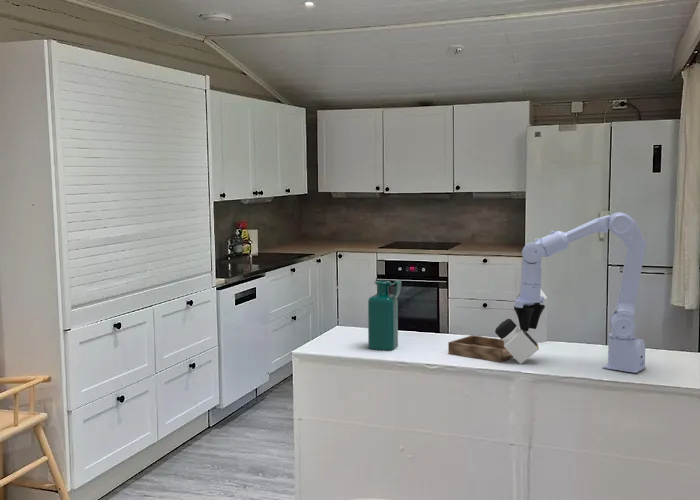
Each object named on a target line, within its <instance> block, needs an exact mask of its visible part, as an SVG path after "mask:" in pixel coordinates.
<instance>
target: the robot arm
mask: <svg viewBox="0 0 700 500" xmlns="http://www.w3.org/2000/svg"><path fill="white" fill-rule="evenodd" d="M609 231H610V232H611V233H612V234H613V235H615V236H616V237H617V238H619V239H620V240H621V241H622V243H623V244H624V245H625V246H626V253H625V257H624V264H623V268H622V269H623V270H622V275H621V281H620V285H619V291H618V296H617V302H616V305H615V309H614V311H613V313H612V315H611V316H610V318H609V326H610V328H611V332H610V333H608V340H607V341H608V346H607V347H608V352H607V353H608V356H607V364H604V365H602V368H603V369H607V370H614V371H620V372H627V373H634V374H637V373H639V372H641V371H643V370H644V369H646V368H647V367H646V343H645V341H644V339H640V338H638V337H637V336H636V334H635V332H636V330H637V329H636V328H637V327H636V322H635V310H636V309H635V307H636V301H637V297H638V296H637V295H638V290H639V284H640V279H641V273H642V269H643V268H642V267H643V263H644V257H645V253H646V246H647V244H646V243H647V242H646V239H645V238H644V235H643V234H642V232H641V230H640V228H639V225H638V223H637V221H635V220H634V218H632V217H631V216H630V215H629V214H627V213H624V212H621V211H620V212H618V211H617V212H613V213H612V214H611V215H609V214H607V215H604V216H601V217H597V218H594V219H593V220H590V221H588V222H585V223H584V224H581V225H579V226H577V227H575V228H573V229H571V230H569V231H566V232H564V231H561V230H557V231H555V230H552V231H550V232H549V233H550V234H547V235H545V236H544V237H541V238H538V237H537V238H535V239H534V242H528V243H527V244H525V245H524V246H523V248H522V251H521V255H522V258H523V259H522V261H521V266H522V267H521V275H520V291H519V292H520V293H519V294H520V297H517V296H516V297H517V300H514V301H515V303H514V306H513V310H514V311H515V315H516V314H517V316H518V320H519V324H520V329H521V330H523V331H528V330H529V328H532V329H536V328H537V324H538V321H539V318H540V315H541V313H542V311H543V310H544V308H545V305H541V304H540V303H544V297H543V296H540V293H541V290H542V288H541V287H542V273H543V272H542V271H543V269H542V259H543V258H549V257H551V256H553V255H555V254H558V253H560V252H563V251H565V250H567V249H568V248H569V246H570V243H572V242H575V241H577V240H580V239H582V238H585V237H588V236H590V235H592V234H595V233H602V234H604V233H605V234H608V233H609Z"/></svg>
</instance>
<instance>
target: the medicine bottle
mask: <svg viewBox="0 0 700 500" xmlns="http://www.w3.org/2000/svg"><path fill="white" fill-rule="evenodd" d="M494 333H495V335H497V336H498V337H499V339H502V341H504V347H505V348H506V350H507V351H508V352H509V353H510V354H511V355H512V356H513V358H514V359H515V361H516V362H517V363H518V364H519V365H522V364H523V363H524V362H526V361H527V359H529V358H530V357H531V356H533V355H534V354H535V353H537V352H538V351H539V350H540V349H539V345H538V343H536V342H535V341H534V340H533V338H532V337H531V336H530V335H529V334H528V333H527V332H526V331H523V330H521V329H520V328H519V329H518V326H517V325H516V322H514V321H513V320H512V319H511V318H506V319H504V320H503V321H501V322H500V323H499V324H498V325H497V327H496V328H495V330H494Z"/></svg>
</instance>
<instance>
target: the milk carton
mask: <svg viewBox="0 0 700 500" xmlns="http://www.w3.org/2000/svg"><path fill="white" fill-rule="evenodd" d="M540 296H543V297H544V303H540V304H541V305H545V308H544V310H543V311H542V313H541V315H540V318H539V321H538V324H537V328H536V329H532V328H529V330H528V331H526V332H527V333H528V334H529V335H530V336H531V337H532V338H533V340H534V341H535V342H536V343H537V344H538V343H544V342H547V341H548V340H547V339H548V297H547V295H546V294H545V293H544V291H543V290H542V289H541V293H540ZM517 297H520V293H519V294H517V296H516V300H517ZM516 300H515V301H516ZM515 315H516V316H515V321H516V322H515V324H516V325H517V326H518V329H519V328H520V324H519V320H518V316H517V314H516V313H515Z"/></svg>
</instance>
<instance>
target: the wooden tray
mask: <svg viewBox="0 0 700 500" xmlns="http://www.w3.org/2000/svg"><path fill="white" fill-rule="evenodd" d="M447 345H448V351H447V352H448V355H455V356H460V357H465V358H473V359H478V360H483V361H484V360H485V361H491V362H495V363H496V362H497V363H503V362H505V361H508V360H510V359H513V358H514V357H513V356H512V355H511V354H510V353H509V352H508V351H507V350H506V348H505V347H504V341H502V339H501V338H496V337H487V336H481V335H469V336H465V337H461V338H459V339H455V340H452V341H449V342H448V344H447Z"/></svg>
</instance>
